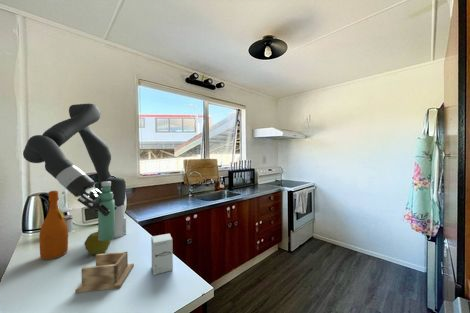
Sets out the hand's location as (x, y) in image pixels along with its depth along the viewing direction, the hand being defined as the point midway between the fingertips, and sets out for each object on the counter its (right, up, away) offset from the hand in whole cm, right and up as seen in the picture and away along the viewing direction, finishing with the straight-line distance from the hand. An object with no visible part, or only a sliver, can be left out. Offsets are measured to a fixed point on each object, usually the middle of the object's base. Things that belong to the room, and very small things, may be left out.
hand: (111, 211), depth 75 cm
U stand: (-1, -25, 0) cm, 25 cm away
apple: (-18, -25, +19) cm, 37 cm away
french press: (-57, -25, +45) cm, 77 cm away
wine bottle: (-38, -25, +18) cm, 49 cm away
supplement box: (+17, -25, +6) cm, 31 cm away
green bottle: (-2, -10, 0) cm, 10 cm away
